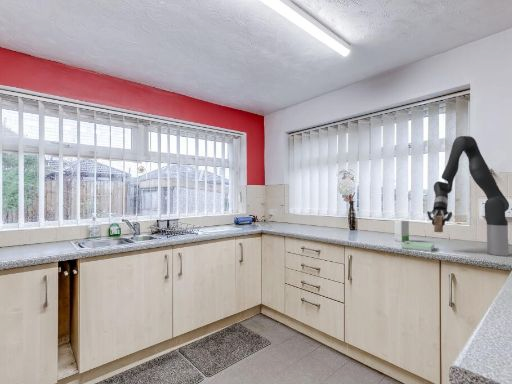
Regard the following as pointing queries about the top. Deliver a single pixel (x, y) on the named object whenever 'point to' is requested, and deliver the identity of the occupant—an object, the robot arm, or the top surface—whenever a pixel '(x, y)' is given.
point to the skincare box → (401, 230)
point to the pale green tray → (418, 246)
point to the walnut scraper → (438, 224)
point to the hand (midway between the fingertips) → (438, 224)
